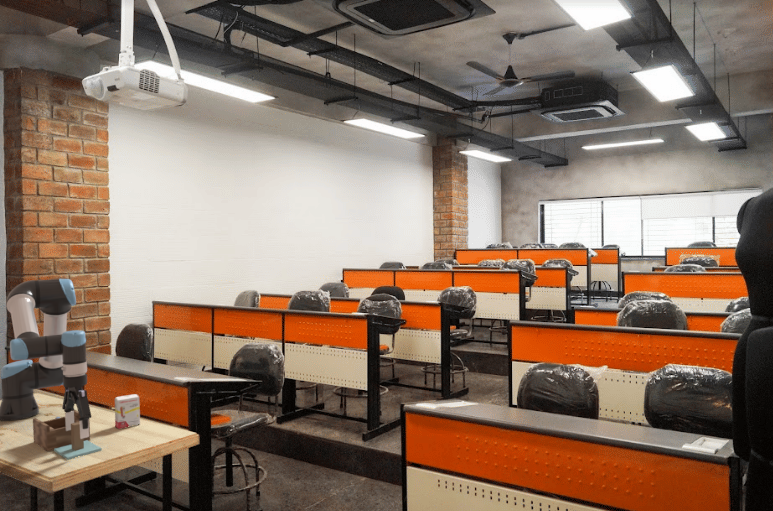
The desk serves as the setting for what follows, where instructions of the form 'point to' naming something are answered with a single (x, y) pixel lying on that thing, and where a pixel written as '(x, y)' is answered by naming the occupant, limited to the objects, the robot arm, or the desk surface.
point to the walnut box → (54, 432)
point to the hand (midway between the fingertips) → (77, 433)
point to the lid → (77, 445)
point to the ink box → (127, 411)
